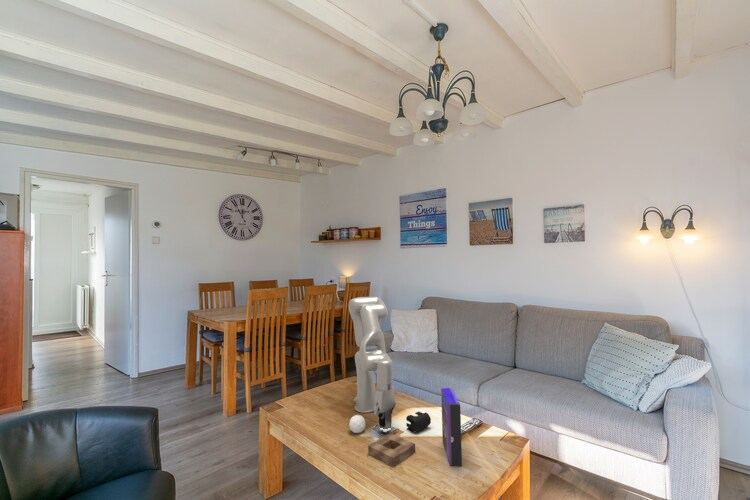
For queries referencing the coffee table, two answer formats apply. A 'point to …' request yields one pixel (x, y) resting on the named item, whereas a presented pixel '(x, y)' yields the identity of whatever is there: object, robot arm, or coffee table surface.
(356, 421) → the geometric ball
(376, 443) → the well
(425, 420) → the end cap
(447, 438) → the cereal box
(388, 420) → the grey rectangular block
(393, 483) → the coffee table surface
